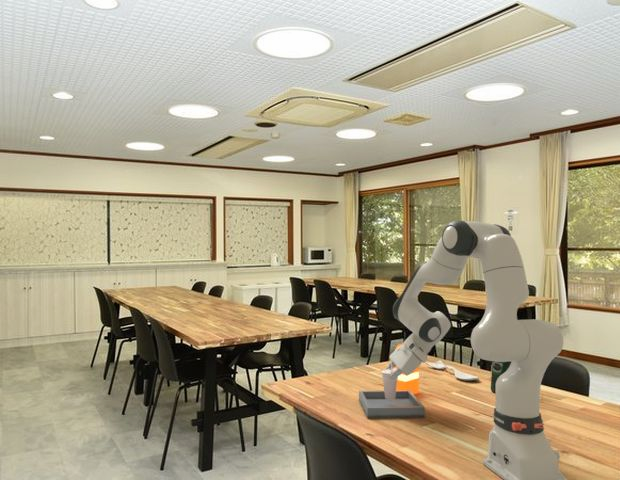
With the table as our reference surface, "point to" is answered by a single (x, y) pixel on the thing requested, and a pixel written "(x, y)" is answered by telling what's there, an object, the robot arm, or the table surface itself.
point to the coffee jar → (498, 372)
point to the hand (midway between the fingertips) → (388, 375)
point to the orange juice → (408, 380)
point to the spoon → (457, 373)
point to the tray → (391, 405)
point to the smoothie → (389, 383)
